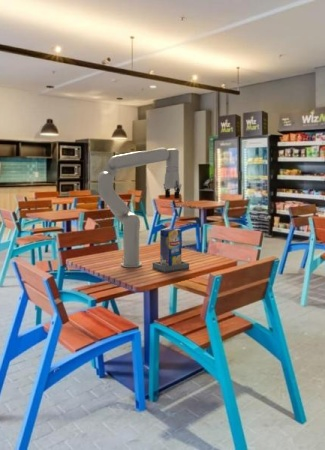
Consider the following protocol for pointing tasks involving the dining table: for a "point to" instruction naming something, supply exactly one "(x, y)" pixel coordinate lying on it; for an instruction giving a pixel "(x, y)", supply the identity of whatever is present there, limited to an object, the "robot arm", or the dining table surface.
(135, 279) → the dining table surface
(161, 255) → the beverage box
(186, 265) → the tray
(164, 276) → the dining table surface
